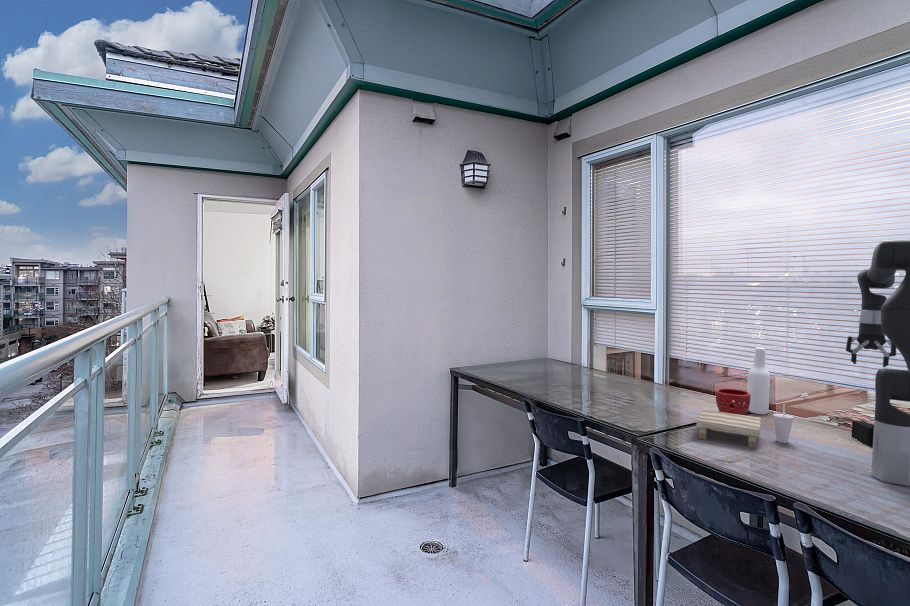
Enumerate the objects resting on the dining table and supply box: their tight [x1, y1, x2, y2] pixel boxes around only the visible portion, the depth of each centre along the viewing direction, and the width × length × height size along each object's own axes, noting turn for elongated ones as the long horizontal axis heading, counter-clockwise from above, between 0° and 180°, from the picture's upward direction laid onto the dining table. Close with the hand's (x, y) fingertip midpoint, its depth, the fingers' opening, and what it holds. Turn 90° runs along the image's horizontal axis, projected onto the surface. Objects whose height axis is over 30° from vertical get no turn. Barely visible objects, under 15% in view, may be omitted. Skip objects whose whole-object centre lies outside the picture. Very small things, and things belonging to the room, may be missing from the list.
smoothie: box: [773, 403, 795, 444], centre depth 180 cm, size 6×6×14 cm
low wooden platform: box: [696, 409, 762, 449], centre depth 184 cm, size 20×20×7 cm
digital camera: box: [850, 420, 874, 448], centre depth 181 cm, size 10×5×7 cm, turn 168°
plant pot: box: [715, 388, 750, 416], centre depth 212 cm, size 13×13×12 cm
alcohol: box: [746, 346, 771, 416], centre depth 223 cm, size 9×9×30 cm
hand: (869, 365), depth 182 cm, fingers open, 8 cm apart
